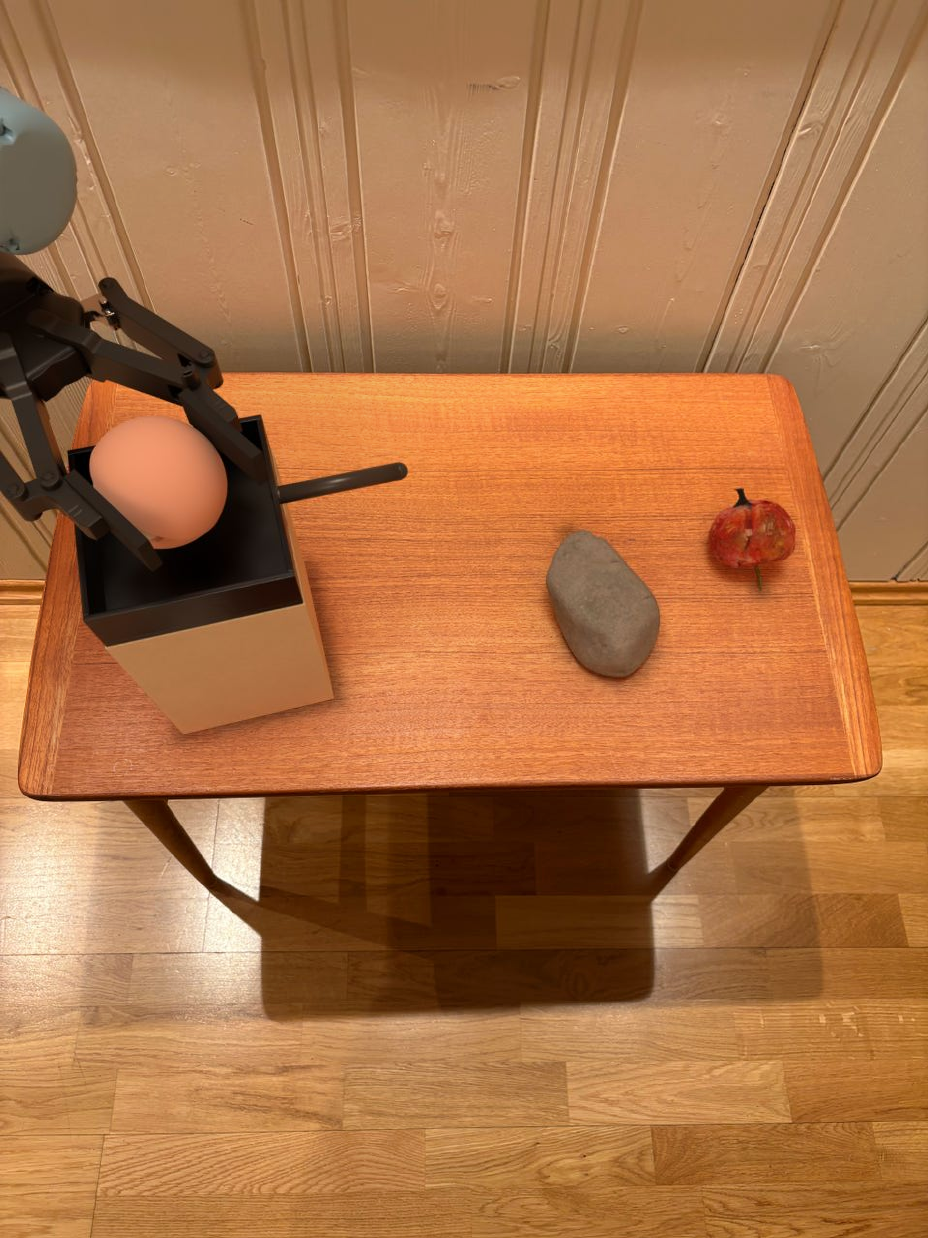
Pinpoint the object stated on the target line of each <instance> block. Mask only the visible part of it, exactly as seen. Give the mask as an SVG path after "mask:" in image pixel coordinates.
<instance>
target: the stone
mask: <svg viewBox="0 0 928 1238" xmlns="http://www.w3.org/2000/svg"><path fill="white" fill-rule="evenodd" d="M545 587H546V591H547V594H548V596H549V599H550V603H551V605H552V608H553V611H554V614H555V617H556V619H557V623H558V625H559V628H560V631H561V633H562V636H563V637H564V640H565V641H566V644H567V645H568V647H569V649H570V651H571V653H572V654H573V655H574V657H575V658H576V659H577V661H578V662H579V663H580V664H581V665H582V666H583V667H585V668H586V669H588V670H589V671H592V672H594V673H596V674H599V675H603V676H607V677H613V678H623V677H628V676H630V675H632V674H633V673H634V672H636V671H637V670H638V669H639V668H640V667H641V666H642V664H644V662H645V661H646V660H647V658H648V657H649V655H650V654H651V652H652V650H653V648H654V647H655V644H656V642H657V639H658V636H659V633H660V627H661V610H660V607H659V604H658V601H657V599H656V597H655V594H654V593H653V592H652V590H651V589H650V588H649V586H647V584H646V583H645V581H644V580H643V579H642V578H641V577H640V576H639V575H638V574H637V573H636V572H635V571H634V569H633V568H631V567H630V565H629V564H628V562H626V560H625V559H624V558H623V557H622V555H620V553H619V552H618V551H617V550H616V549H615V548H614V547H613V546H612V545H611V544H610V542H609V541H608V540H607V539H605V538H604V537H601V536H597V535H595V534H594V533H593V532H591V531H590V530H586V529H581V530H577V531H574V532H573V533H571V534H570V535H568V536H567V537H565V538H564V539H563V541H562V542H560V544H559V545H558V547H557V549H556V550H555V552H554V553H553V555H552V559H551V562H550V565H549V567H548V569H547V572H546V576H545Z"/></svg>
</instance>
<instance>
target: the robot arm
mask: <svg viewBox="0 0 928 1238" xmlns="http://www.w3.org/2000/svg"><path fill="white" fill-rule="evenodd" d="M77 173H78V165H77V160H76V156H75V153H74V151H73V147H72V145H71V144H70V140H69V139H68V137H67V135H66V134H65V132H64V131H63V129H62V127H60V125H59V124H58V123H57V122H56V121H55V119H53V118H52V117H50V116H49V115H48V114H47V113H45V112H44V111H43V110H42V109H40V108H38V107H36V106H35V105H32V104H31V103H29V102H27V101H25V100H23V99H22V98H20V97H18V96H17V95H15V94H13V93H12V92H11V91H10V90H9V89H8V88H7V87H5V86H3V85H0V400H7V401H8V400H9V401H11V404H12V407H13V410H14V414H15V416H16V420H17V422H18V425H19V429H20V431H21V436H22V438H23V441H24V444H25V447H26V450H27V453H28V456H29V459H30V462H31V466H32V469H33V473H34V475H35V479H31V480H29V481H26V482H24V480H23V479H22V478H21V476H20V475H19V473H18V471H16V469H15V468H14V466H13V465H12V463H11V461H9V459H8V458H7V457H6V455H5V454H4V453H3V451H2V450H1V449H0V493H1V494H2V495H3V497H4V498H5V499H6V501H7V502H9V505H11V506H12V507H13V509H14V510H15V512H17V513H18V515H19V516H20V517H21V518H22V520H23V521H26V522H31V523H32V522H36V521H37V520H39V519H40V518H41V517H42V516H43V514H44V513H45V512H47V511H50V510H58V511H59V512H60V514H61V515H63V516H65V517H67V518H68V519H69V520H70V521H71V522H72V523H73V524H74V523H75V524H76V525H77V526H78V527H79V528H80V529H81V530H82V531H83V532H84V533H85V534H86V535H87V536H88V537H90V538H92V539H95V540H98V539H99V538H101V537H102V536H103V535H105V534H106V533H107V532H109V531H111V532H112V533H113V534H114V535H115V536H116V537H117V538H118V539H119V540H120V541H121V542H122V543H123V544H124V545H125V546H126V547H127V548H128V549H129V550H130V551H131V552H132V553H133V554H134V555H135V556H136V557H137V558H138V559H140V560H141V561H142V562H143V563H144V564H145V565H146V566H147V567H148V568H149V569H150V570H151V571H152V572H153V571H154V570H156V569H157V568H158V567H159V566H161V565H162V564H163V563H162V561H161V559H160V558H159V556H158V554H157V553H156V551H155V549H154V548H153V546H152V544H151V543H150V541H149V540H148V539H147V538H146V537H145V536H144V535H143V534H142V533H141V532H140V531H139V530H138V529H137V528H136V527H135V526H134V525H133V524H132V523H131V522H130V521H129V520H127V519H126V518H125V517H124V516H123V515H122V514H121V513H120V512H119V511H118V510H117V509H116V508H115V507H114V506H113V505H112V504H111V503H110V502H109V501H108V500H107V499H105V498H104V497H103V496H102V495H101V494H100V493H99V492H98V491H97V490H96V489H95V488H94V487H93V486H92V485H91V484H90V483H89V482H88V481H87V480H86V479H85V478H83V477H82V476H81V475H80V474H79V473H78V472H77V471H76V470H75V469H73V470H72V471H71V472H69V471H68V470H67V468H66V465H65V462H64V459H63V456H62V453H61V451H60V448H59V445H58V441H57V439H56V436H55V432H54V429H53V428H52V424H51V417H50V413H49V410H48V407H47V405H46V403H47V402H49V401H51V400H52V399H53V398H55V397H56V396H58V394H60V392H61V391H63V389H64V388H66V387H67V386H70V385H71V384H75V383H77V382H78V381H80V380H82V379H83V378H88V379H90V380H93V381H96V382H99V383H106V381H108V382H111V383H114V384H117V385H119V386H122V387H124V388H128V389H131V390H132V391H133V390H134V391H137V392H139V393H142V394H145V395H148V396H149V397H150V396H151V397H153V398H157V399H159V400H161V401H165V402H168V403H170V404H173V405H176V406H179V407H181V408H182V409H183V411H184V414H185V416H186V419H187V421H188V425H190V426H192V427H194V428H195V429H197V430H198V431H199V432H201V433H202V434H203V435H204V436H205V437H206V438H207V439H208V440H209V441H210V442H211V443H212V444H213V445H214V446H215V447H217V448H218V449H219V450H220V451H221V452H222V453H223V454H225V455H226V456H227V457H228V458H229V459H230V460H231V461H233V462H234V463H235V464H236V465H237V466H238V467H239V468H240V469H242V470H243V471H244V472H245V473H246V474H247V475H248V476H250V477H251V478H252V479H253V480H254V481H255V482H256V483H258V484H259V485H260V486H261V485H263V484H264V483H265V482H266V481H268V480H269V479H270V477H269V473H268V470H267V467H266V464H265V460H264V457H263V454H262V451H261V450H259V449H258V448H257V447H256V446H255V445H254V444H253V443H251V442H250V441H249V440H248V439H247V438H246V437H244V436H243V435H242V434H241V433H240V432H241V431H242V427H241V424H240V421H239V418H240V417H239V415H238V413H237V410H236V408H235V407H233V406H232V405H231V404H230V403H229V402H228V401H226V400H225V399H224V398H223V397H222V396H221V395H220V394H218V393H217V392H216V391H215V390H216V389H219V388H221V387H223V385H224V381H225V380H224V377H223V373H222V371H221V368H220V365H219V361H218V359H217V356H216V353H215V351H214V349H213V348H211V347H210V346H208V345H206V344H205V343H203V342H202V341H201V340H199V339H197V338H195V337H193V336H192V335H190V334H189V333H187V332H186V331H184V330H182V329H181V328H179V327H178V326H176V325H174V324H172V323H170V322H169V321H168V320H166V319H165V318H163V317H161V316H159V315H158V314H156V313H155V312H153V311H152V310H150V309H148V308H147V307H146V306H144V305H142V304H141V303H139V302H137V301H136V300H135V299H132V298H131V297H129V296H128V294H127V293H126V291H125V290H124V288H123V287H122V285H121V284H120V283H119V281H118V280H117V279H116V278H115V277H111V276H107V277H104V278H102V279H100V280H99V281H98V284H97V286H98V289H99V291H100V292H98V293H96V294H93V295H91V296H89V297H87V298H85V299H83V300H80V301H79V299H76V298H74V297H72V296H68V295H63V294H61V293H58V292H57V291H56V290H55V289H53V287H52V286H51V285H49V284H48V282H46V281H45V280H44V279H43V278H41V277H40V276H39V275H38V274H37V273H36V272H35V271H34V270H32V269H31V268H30V267H29V266H28V265H27V264H26V263H24V262H23V261H22V260H21V259H20V258H19V257H17V256H28V255H32V254H33V255H34V254H36V253H39V252H40V251H41V252H42V251H43V250H45V249H46V248H47V247H50V246H51V244H53V243H54V242H56V241H57V240H58V239H59V238H60V236H61V235H62V234H63V233H64V232H65V230H66V228H67V227H68V225H69V223H70V221H71V219H72V218H73V215H74V211H75V208H76V204H77V201H78V187H77V184H78V181H79V179H78V174H77ZM94 322H100V323H102V324H104V325H105V326H107V327H110V329H111V330H112V331H116V332H117V331H119V330H121V331H122V333H123V334H124V335H125V336H126V337H128V338H129V339H130V340H131V341H133V342H135V343H136V344H138V345H139V346H141V347H142V348H144V349H145V350H147V351H149V352H151V353H152V354H153V355H151V354H148V353H146V352H143V351H140V350H136V349H134V348H131V347H128V346H125V345H122V344H120V343H118V342H117V343H116V342H114V341H111V340H108V339H105V338H103V337H102V336H101V335H100V334H99V333H98V332H97V331H95V330H93V329H91V323H94ZM154 355H155V356H154Z"/></svg>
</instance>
